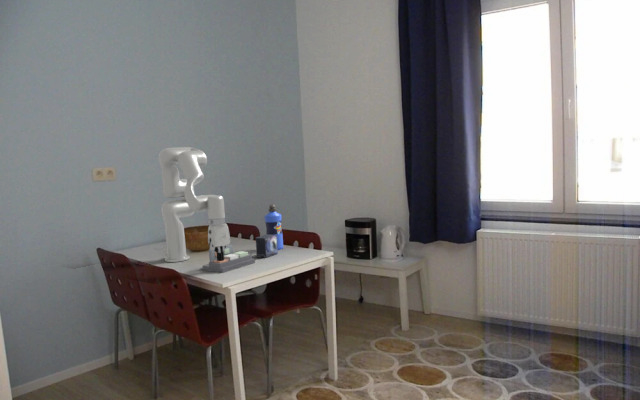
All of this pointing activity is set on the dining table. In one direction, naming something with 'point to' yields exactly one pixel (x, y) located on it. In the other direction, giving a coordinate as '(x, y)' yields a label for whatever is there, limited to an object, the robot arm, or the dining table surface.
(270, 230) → the water bottle
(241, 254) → the sage key
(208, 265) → the keypad
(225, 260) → the terracotta key
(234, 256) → the grey key
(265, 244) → the small box
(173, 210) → the robot arm
